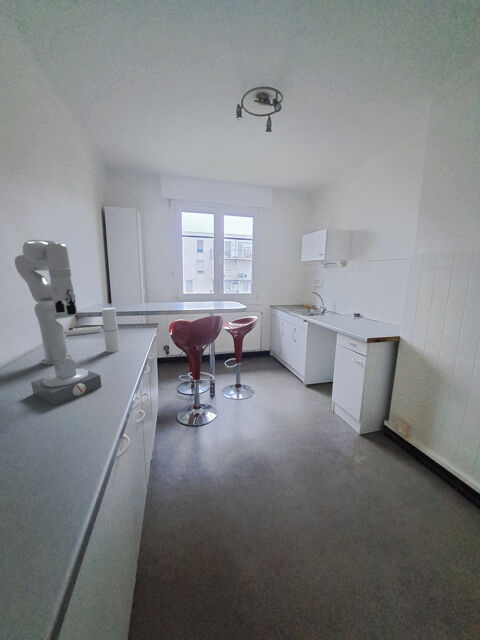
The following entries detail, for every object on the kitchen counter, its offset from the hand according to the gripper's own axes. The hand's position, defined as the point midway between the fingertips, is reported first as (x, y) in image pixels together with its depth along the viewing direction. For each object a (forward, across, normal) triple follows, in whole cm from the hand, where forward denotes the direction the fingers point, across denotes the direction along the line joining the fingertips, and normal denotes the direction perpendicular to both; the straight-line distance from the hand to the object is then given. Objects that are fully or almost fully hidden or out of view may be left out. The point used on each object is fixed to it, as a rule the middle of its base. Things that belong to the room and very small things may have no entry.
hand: (66, 313), depth 110 cm
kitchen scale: (+28, +15, -10) cm, 34 cm away
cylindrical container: (+28, -16, +29) cm, 44 cm away
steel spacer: (+22, +15, -10) cm, 29 cm away
